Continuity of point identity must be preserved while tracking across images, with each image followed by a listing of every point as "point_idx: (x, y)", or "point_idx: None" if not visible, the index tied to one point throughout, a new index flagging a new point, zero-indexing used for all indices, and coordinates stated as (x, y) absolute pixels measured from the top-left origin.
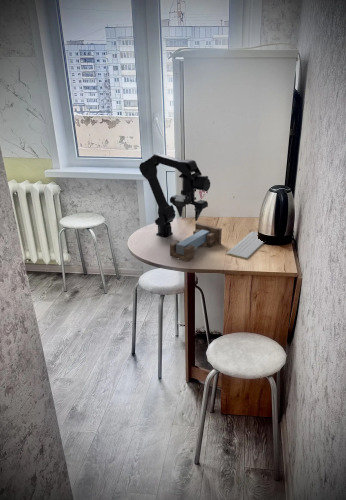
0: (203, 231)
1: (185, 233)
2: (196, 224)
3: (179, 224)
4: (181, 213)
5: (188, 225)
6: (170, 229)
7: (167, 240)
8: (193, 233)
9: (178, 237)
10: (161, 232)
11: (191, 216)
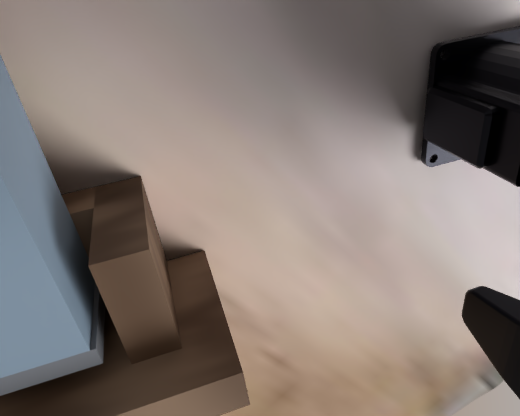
0: (16, 341)
1: (338, 246)
2: (225, 371)
3: None
4: (512, 365)
5: (404, 337)
6: (460, 139)
7: (376, 3)
8: (142, 233)
9: (333, 147)
10: (512, 48)
11: (459, 407)
